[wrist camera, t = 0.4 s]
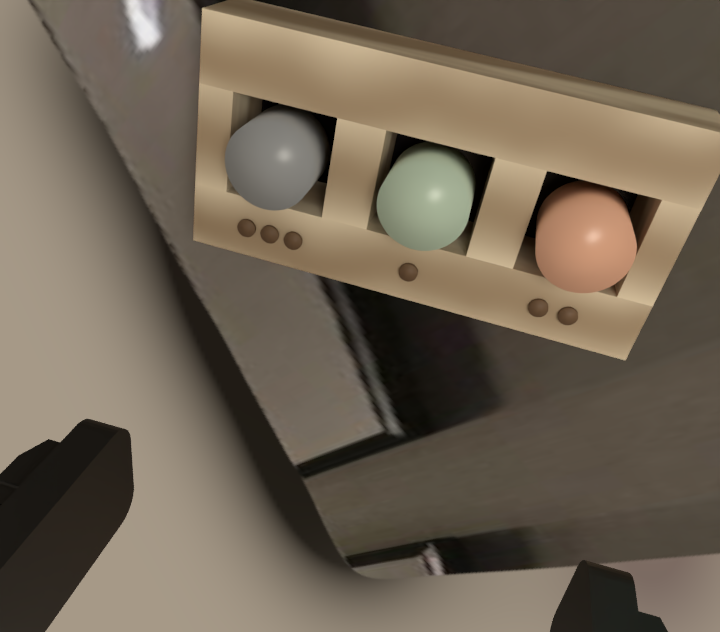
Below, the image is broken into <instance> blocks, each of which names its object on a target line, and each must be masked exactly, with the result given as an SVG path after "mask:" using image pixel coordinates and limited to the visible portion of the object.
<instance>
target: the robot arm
mask: <svg viewBox="0 0 720 632" xmlns="http://www.w3.org/2000/svg"><path fill="white" fill-rule="evenodd" d="M133 492H134V483H133V468H132V452H131V438H130V434H129V432H128V430H126V429H122V428H119V427H115V426H112V425H108V424H105V423H101V422H98V421H94V420H91V419H85V420H83V421H81V422H80V423H79V424H77V426H75V428H74V429H73V430H72V431H71V432H70V433H69V434H68V435H67V436H66V437H65V438H64V439H63V440H62V441H61V442H56V441H53V440H49V439H48V440H46V441H45V442H43V443H41V444H39V445H37V446H35V447H34V448H32V449H30V450H28V451H26V452H24V453H23V454H21V455H19V456H18V457H17V458H16V459H15V460H14V461H13V462H12V463H11V464H10V465H9V466H8V467H7V468H6V469H5V470H4V471H3V472H2V473H1V474H0V632H45V631H46V630H47V628H48V627H49V626H50V624H51V623H52V621H53V620H54V618H55V617H56V616H57V614H58V613H59V611H60V610H61V609H62V607H63V605H64V604H65V603H66V602H67V600H68V599H69V597H70V596H71V595H72V593H73V592H74V590H75V589H76V587H77V586H78V585H79V583H80V582H81V580H82V579H83V578H84V576H85V575H86V573H87V572H88V570H89V569H90V568H91V566H92V565H93V564H94V562H95V561H96V559H97V558H98V556H99V555H100V554H101V552H102V551H103V549H104V548H105V547H106V545H107V544H108V542H109V541H110V539H111V538H112V537H113V535H114V534H115V532H116V531H117V530H118V528H119V527H120V525H121V524H122V522H123V521H124V519H125V517H126V515H127V513H128V511H129V508H130V505H131V502H132V498H133ZM550 632H668V631H667V629H666V627H665V626H664V624H663V622H662V620H661V618H660V617H656V616H653V615H649V614H646V613H642V612H639V611H638V606H637V598H636V591H635V584H634V580H633V577H632V575H631V574H630V573H628V572H624V571H621V570H617V569H614V568H610V567H607V566H603V565H600V564H596V563H593V562H589V561H585V560H582V561H581V562H580V563H579V565H578V567H577V569H576V571H575V573H574V575H573V577H572V579H571V582H570V584H569V586H568V588H567V590H566V592H565V594H564V596H563V598H562V600H561V602H560V604H559V606H558V609H557V611H556V613H555V615H554V618H553V621H552V625H551V629H550Z"/></svg>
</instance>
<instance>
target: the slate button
mask: <svg viewBox="0 0 720 632" xmlns="http://www.w3.org/2000/svg"><path fill="white" fill-rule="evenodd" d="M329 158H330V144H329V139H328V136H327V134H326V131H325V129H324V128H323V126H322V124H321V123H320V122H319V120H318V119H317V118H316V117H315V116H314V115H312V114H311V113H310V112H308V111H307V110H304V109H300V108H296V107H292V106H288V105H284V104H279V105H275V106H272V107H269V108H267V109H266V110H264V111H263V112H261V113H260V114H259V115H257V116H256V117H255V118H253V119H252V120H251V121H249V122H248V123H246V124H245V125H244V126H242V127H241V128H240V129H238V130H237V131H236V132H235V133H234V134H233V135H232V137H231V138H230V140H229V142H228V144H227V147H226V151H225V167H226V172H227V175H228V178H229V180H230V182H231V184H232V185H233V187H234V188H235V190H236V191H237V192H238V193H239V194H240V195H241V196H242V197H243V198H244V199H245V200H246V201H248V202H249V203H251V204H252V205H254V206H257V207H259V208H262V209H266V210H273V211H276V210H284V209H287V208H290V207H292V206H294V205H296V204H297V203H298V202H299V201H300V200H301V199H302V198H303V197H304V196H305V195H306V194H307V192H308V191H309V190H310V189H311V188H312V186H313V185H314V184H315V183H316V182H317V180H318V179H319V178H320V177H321V176H322V174H323V173H324V171H325V170H326V168H327V165H328V163H329Z"/></svg>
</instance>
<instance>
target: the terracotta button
mask: <svg viewBox="0 0 720 632" xmlns="http://www.w3.org/2000/svg"><path fill="white" fill-rule="evenodd" d="M636 251H637V243H636V238H635V234H634V230H633V227H632V223H631V219H630V216H629V212H628V208H627V205H626V203H625V201H624V200H623V198H622V197H621V196H620V194H619V193H618V192H617V191H615V190H614V189H613V188H611V187H609V186H605V185H601V184H597V183H593V182H589V181H585V180H583V181H575V182H571V183H568V184H565V185H563V186H561V187H559V188H557V189H556V190H555V191H553V192H552V193H551V194H550V195H549V196H548V197H547V198H546V199H545V200H544V202H543V203H542V205H541V207H540V209H539V211H538V215H537V220H536V247H535V255H536V261H537V264H538V267H539V269H540V271H541V272H542V274H543V275H544V277H545V278H546V279H547V280H548V281H549V282H551V283H552V284H553V285H555V286H557V287H558V288H561V289H563V290H566V291H569V292H574V293H593V292H597V291H601V290H604V289H607V288H609V287H611V286H612V285H614V284H616V283H617V282H618V281H620V280H621V279H622V278H623V277H624V276H625V275H626V274H627V273H628V271H629V270H630V268H631V267H632V265H633V263H634V260H635V257H636Z"/></svg>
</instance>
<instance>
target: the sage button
mask: <svg viewBox="0 0 720 632" xmlns="http://www.w3.org/2000/svg"><path fill="white" fill-rule="evenodd" d="M475 190H476V178H475V173H474V170H473V168H472V166H471V164H470V162H469V161H468V159H467V158H466V157H465V156H464V154H463V153H461V152H460V151H459V150H458V149H456V148H454V147H450V146H446V145H442V144H438V143H434V142H430V141H429V142H422V143H418V144H415V145H413V146H411V147H409V148H408V149H407V150H405V151H404V152H403V153H402V154H401V155H400V156H399V157H398V158H397V160H396V162H395V163H394V165H393V167H392V168H391V170H390V172H389V174H388V175H387V177H386V179H385V180H384V182H383V184H382V185H381V188H380V190H379V193H378V196H377V213H378V217H379V220H380V222H381V225H382V226H383V228H384V230H385V231H386V232H387V234H388V235H389V236H390V237H391V238H392V239H394V240H395V241H396V242H398V243H399V244H401V245H403V246H405V247H407V248H410V249H414V250H419V251H431V250H437V249H440V248H443V247H445V246H447V245H449V244H451V243H452V242H453V241H455V240H456V239H457V238H458V237H459V236H460V235H461V233H462V232H463V231H464V229H465V227H466V225H467V222H468V219H469V215H470V211H471V207H472V202H473V198H474V194H475Z"/></svg>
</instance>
